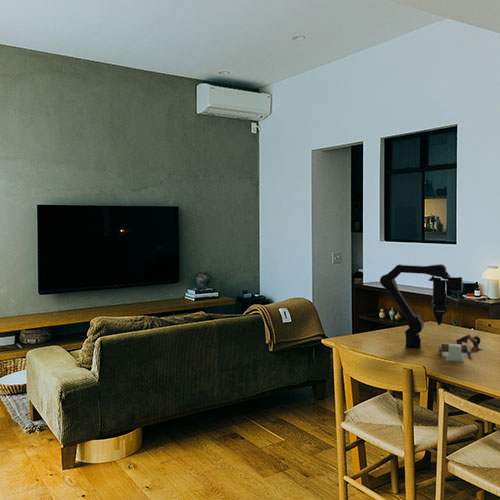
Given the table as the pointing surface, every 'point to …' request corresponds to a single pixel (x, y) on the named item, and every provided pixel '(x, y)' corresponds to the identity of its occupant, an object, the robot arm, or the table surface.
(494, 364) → the table surface
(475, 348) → the pottery mug
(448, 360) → the slate tile
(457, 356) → the sage block
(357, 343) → the table surface
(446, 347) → the walnut crate
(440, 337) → the table surface
